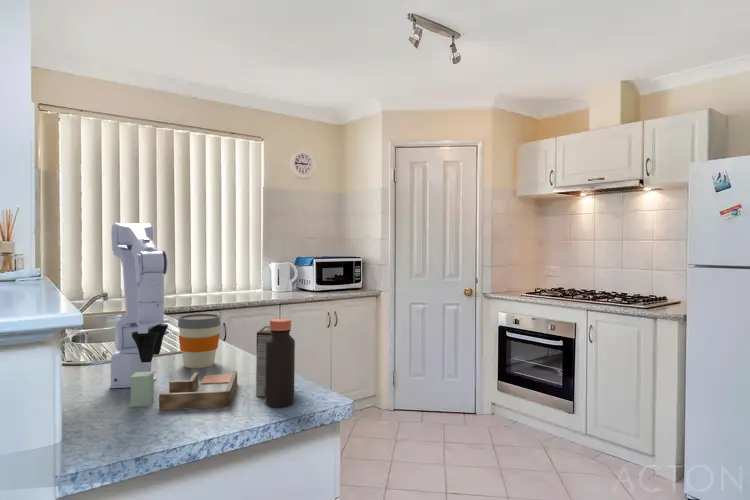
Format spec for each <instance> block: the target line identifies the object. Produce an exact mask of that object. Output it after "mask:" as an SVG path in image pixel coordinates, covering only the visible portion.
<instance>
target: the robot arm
mask: <svg viewBox="0 0 750 500" xmlns="http://www.w3.org/2000/svg"><path fill="white" fill-rule="evenodd" d="M111 247H112V248H111V249H112V251H113V255H114V256H116V257H118V258H120V262H121V265H122V275H123V290H124V291H123V293H124V304H125V315H124V316H123V317H122V318H120V319H118V320H117V321H116V323H115V328H114V329H115V331H114V332H115V333H114V344H115V349H116V350H117V351H116V350H115V351H114V352H113V354H112V355H111V359H110V360H111V361H110V386H109V389H119V388H121V389H122V388H131V376H132V375H133V374H134V373H136V372H152V361H153V357H154V356H157V355H158V356H159V355H160V353H161V349H162V345H163V340H164V336H165V333H166V332H167V330H168V327H169V324H167V323H169V322H170V318H164V317H165V316H164V315H165V312H164V311H165V275H166V274H167V270H168V255H167V253H166V251H165V250H159V249H158V247H157V245H156V243H155V242H154V227H153V226H152V225H151V223H129V222H128V223H127V222H126V223H125V222H114V223H113V224H112V225H111ZM156 379H157V377H156V376H154V381H155V380H156Z"/></svg>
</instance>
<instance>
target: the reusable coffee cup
mask: <svg viewBox="0 0 750 500" xmlns="http://www.w3.org/2000/svg"><path fill="white" fill-rule="evenodd" d="M220 316H221V315H219V314H217V313H191V314H184V315H183V314H182V315H180V316H179V317H178V319H177V320H178V321H177V327H178V331H179V335H178V341H179V343H178V344H179V349H180V351H181V353H182V354H181V355H182V362H183V366H184V367H185V368H188V369H201V368H202V369H203V368H207V367H212V366H213V365H215V361H216V352H217V350H218V347H219V342H220V335H221V334H220V332H219V331H220V326H221V317H220Z"/></svg>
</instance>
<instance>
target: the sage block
mask: <svg viewBox="0 0 750 500" xmlns="http://www.w3.org/2000/svg"><path fill="white" fill-rule="evenodd" d="M154 377H155V371H151V372H136V373H134V374H133V375H132V376H131V387H130V408H133V407H149V406H150V405H152V403H153V402H154V400H155V399H154V397H155V395H154V394H155V393H154V392H155V387H154V386H155V383H154V381H155V380H154Z"/></svg>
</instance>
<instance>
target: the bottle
mask: <svg viewBox="0 0 750 500" xmlns="http://www.w3.org/2000/svg"><path fill="white" fill-rule="evenodd" d="M269 326H270V331H271V336H270V337H269V338H268V339H267V341H266V388H265V396H264V397H265V398H264V399H265V405H266V406H268V407H271V408H275V409H276V408H279V409H280V408H286V407H287V408H288V407H290V406H292V405H293V404H294V402H295V371H296V370H295V368H296V367H295V366H296V365H295V362H296V361H295V359H296V358H295V357H296V356H295V347H296V346H295V345H296V344H295V343H296V341H295V339H294V338H293V337H292V336H291V335H290V332H291V331H292V330H291V329H292V320H291V318H272V319H270V320H269Z"/></svg>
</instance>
